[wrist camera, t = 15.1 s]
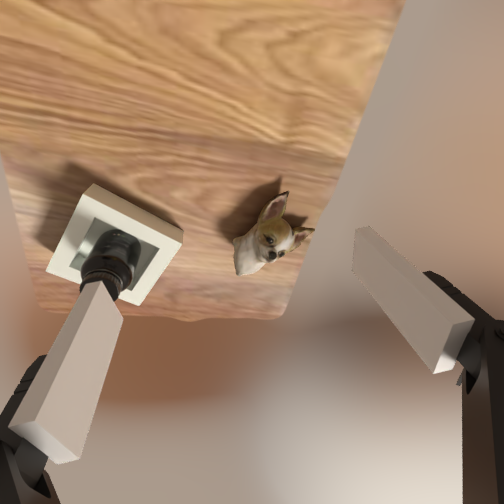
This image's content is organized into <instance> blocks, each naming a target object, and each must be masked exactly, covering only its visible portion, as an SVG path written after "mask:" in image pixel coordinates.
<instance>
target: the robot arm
mask: <svg viewBox="0 0 504 504" xmlns="http://www.w3.org/2000/svg"><path fill="white" fill-rule="evenodd" d="M352 271H353V272H354V274H355V275H356V276H357V277H358V279H359V280H360V281H361V282H362V284H363V285H364V286H365V288H366V289H367V290H368V291H369V293H370V294H371V295H372V297H373V298H374V299H375V300H376V302H377V303H378V304H379V305H380V307H381V308H382V309H383V311H384V312H385V313H386V314H387V316H388V317H389V318H390V320H391V321H392V322H393V323H394V325H395V326H396V327H397V328H398V330H399V331H400V332H401V333H402V335H403V336H404V337H405V339H406V340H407V341H408V342H409V344H410V345H411V346H412V347H413V349H414V350H415V351H416V353H417V354H418V355H419V356H420V358H421V359H422V360H423V362H424V363H425V364H426V365H427V366H428V368H429V369H430V370H431V372H432V373H433V374H435V373H439V372H443V371H447V370H452V369H453V366H454V364H455V362H456V360H458V361H459V362H460V363H461V364H462V365H463V367H464V369H463V371H462V373H461V375H460V377H459V379H458V381H457V384H456V385H459V386H460V385H461V383H462V437H463V438H462V439H463V441H462V447H463V448H462V449H463V450H462V453H463V455H462V457H463V504H504V321H503V320H495V319H494V318H492V317H491V316H490V315H489V314H488V313H486V312H485V311H484V310H483V309H481V308H480V307H479V306H478V305H477V304H475V303H474V302H473V301H472V300H471V299H469V298H468V297H467V296H466V295H465V294H462V293H461V291H460V290H458V289H457V288H456V287H453V285H452V284H451V283H450V282H449V281H447V280H446V279H445V278H444V277H442V276H440V275H438V274H436V273H434V272H432V271H427V272H421V271H420V270H419V269H417V268H416V267H415V266H414V265H413V264H412V263H411V262H409V261H408V260H407V259H406V258H405V257H404V256H403V255H402V254H400V253H399V252H398V251H397V250H396V249H394V247H392V246H391V245H390V244H389V243H388V242H387V241H386V240H385V239H383V238H382V237H381V236H380V235H379V234H378V233H377V232H375V231H374V230H373V229H372V228H371V227H370V226H368V227H363V228H358V229H356V230H355V241H354V253H353V264H352ZM122 322H123V317H122V316H121V314H120V312H119V310H118V309H117V307H116V305H115V303H114V302H113V300H112V298H111V296H110V295H109V293H108V291H107V289H106V288H105V286H104V284H103V282H102V281H98V282H93V283H88V284H86V285H85V286H84V288H83V290H82V292H81V294H80V296H79V297H78V299H77V301H76V303H75V305H74V307H73V308H72V310H71V312H70V314H69V316H68V318H67V319H66V321H65V323H64V325H63V327H62V329H61V330H60V333H59V334H58V336H57V338H56V340H55V341H54V343H53V345H52V347H51V349H50V351H49V352H48V354H47V355H42V356H39V357H38V358H37V359H36V361H34V362H33V363H32V365H31V366H30V367H29V368H28V369H27V370H26V372H25V374H24V376H23V377H22V379H21V381H20V384H18V386H17V388H16V389H15V391H14V395H12V396H11V398H10V400H9V401H8V403H7V405H6V406H5V408H4V410H3V412H2V413H1V415H0V504H61V503H60V501H59V499H58V496H57V494H56V491H55V489H54V486H53V484H52V482H51V479H50V477H49V475H48V473H47V472H46V471H45V470H44V467H45V465H46V462H47V459H48V458H50V459H51V460H52V461H53V462H55V463H56V464H62V463H66V462H70V461H74V460H78V459H80V457H81V454H82V451H83V447H84V444H85V441H86V438H87V435H88V431H89V428H90V425H91V422H92V419H93V415H94V412H95V409H96V405H97V402H98V399H99V396H100V393H101V390H102V386H103V383H104V380H105V377H106V374H107V370H108V367H109V364H110V360H111V358H112V354H113V351H114V348H115V345H116V341H117V338H118V335H119V332H120V329H121V325H122Z"/></svg>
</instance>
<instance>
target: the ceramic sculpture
mask: <svg viewBox="0 0 504 504" xmlns="http://www.w3.org/2000/svg"><path fill="white" fill-rule="evenodd" d="M288 194H289V191H286V192H284V193H281V194H278V195H277V196H275V197H274V198H272V199H271V200H269V201H268V203H267V204H266V205H265V206H264V207H263V209H262V211H261V212H260V214H259V217H258V222H257V224H255V226H254V227H253V228H252V229H251V230H250V231H249V232H248V233H247V234H246V235H244V236H240V237H236V238H234V239H233V242H232V243H233V245H234V251H235V252H234V264H235V269H236V274H237V276H241V275H248V274H252V273H255V272H257V271H258V270H259V269H260V268H261V267H262V266H263V265H264V264H265V263H273V262H274V261H276V260H278V259H279V258H280V257H282V256H284V255H285V254H286V253H288V252H291V251H293V250H294V249H295V248H297V247H299V245H301V242H303V241H304V239H305V238H306V237H307V236H308V235H309V234H311V233H312V232H313V231H315V229H313V228H305V227H295V228H293V229H292V228H291V227H290V225H289V223H288V222H286V221H285V220H284V219H282V216H283V214H284V212H285V209H286V202H287V197H288Z"/></svg>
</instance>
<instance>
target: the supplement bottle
mask: <svg viewBox="0 0 504 504" xmlns="http://www.w3.org/2000/svg"><path fill="white" fill-rule="evenodd" d="M140 254H141V245H140V242H139V240H138V239H137V238H136V237H135V236H133V235H131V234H129V233H127V232H124V231H122V230H120V229H113V230H109V231H106V232H104V233H103V234H102V235H101V236H100V237H99V238H98V240H97V241H96V243H95V245H94V246H93V248H92V250H91V251H90V253H89V254H88V256H87V258H86V259H85V261H84V263H83V264H82V267H81V271H80V274H81V279H82V282H81V285H80V294H81V292H82V290H83V288H84V286H85V285H86V284H88V283H93V282H98V281H102V282H103V284H104V286H105V288H106V289H107V291H108V293H109V295H110V296H111V298H112V300H113V302H114V301H116V300H117V298H118V297H119V295H120V292H122V291H124V290H125V289H127V288H128V287H129V286H130V284H131V282H132V280H133V277H134V274H135V270H136V267H137V264H138V261H139V258H140Z"/></svg>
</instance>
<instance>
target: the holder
mask: <svg viewBox="0 0 504 504" xmlns="http://www.w3.org/2000/svg"><path fill="white" fill-rule="evenodd" d="M113 229H120V230H122V231H124V232H127V233H129V234H131V235H133V236H135V237H136V238H137V239H138V240H139V242H140V245H141V254H140V258H139V261H138V264H137V267H136V270H135V274H134V277H133V280H132V282H131V284H130V286H129V287H128V288H127V289H125V290H124V291H122V292H120V295H119V297H118V298H119V299H122V300H124V301H127V302H130V303H133V304H135V305H138V306H140V304H141V303H142V301H143V300H144V298H145V297H146V296H147V294H148V293H149V291H150V290H151V288H152V287H153V286H154V284H155V283H156V281H157V280H158V278H159V277H160V275H161V274H162V273H163V271H164V270H165V268H166V267H167V265H168V264H169V262H170V261H171V260H172V258H173V257H174V255H175V254H176V252H177V251H178V250H179V248H180V247H181V245H182V242H183V232H184V231H183V230H181V229H179V228H177V227H175V226H173V225H172V224H170V223H168V222H166V221H164V220H162V219H160V218H158V217H156V216H155V215H153V214H151V213H149V212H147V211H145V210H143V209H141V208H140V207H138V206H136V205H134V204H132V203H130V202H128V201H126V200H124V199H123V198H121V197H119V196H117V195H115V194H113V193H111V192H109V191H108V190H106V189H104V188H102V187H100V186H98V185H96V184H94V183H93V184H92V185H91V186H90V187H89V188H88V189H87V190H86V191H85V192H84V193H83V194H82V196H81V199H80V201H79V203H78V205H77V207H76V209H75V211H74V213H73V215H72V217H71V219H70V221H69V223H68V226H67V228H66V230H65V232H64V234H63V236H62V238H61V240H60V242H59V244H58V246H57V248H56V251H55V253H54V255H53V257H52V259H51V261H50V263H49V265H48V267H47V269H46V272H49V273H51V274H54V275H57V276H60V277H62V278H65V279H68V280H70V281H73V282H76V283H78V284H81V282H82V279H81V274H80V271H81V267H82V264H83V263H84V261H85V259H86V258H87V256H88V254H89V253H90V251H91V250H92V248H93V246H94V245H95V243H96V241H97V240H98V238H99V237H100V236H101V235H102V234H103V233H104V232H106V231H109V230H113Z"/></svg>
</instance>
